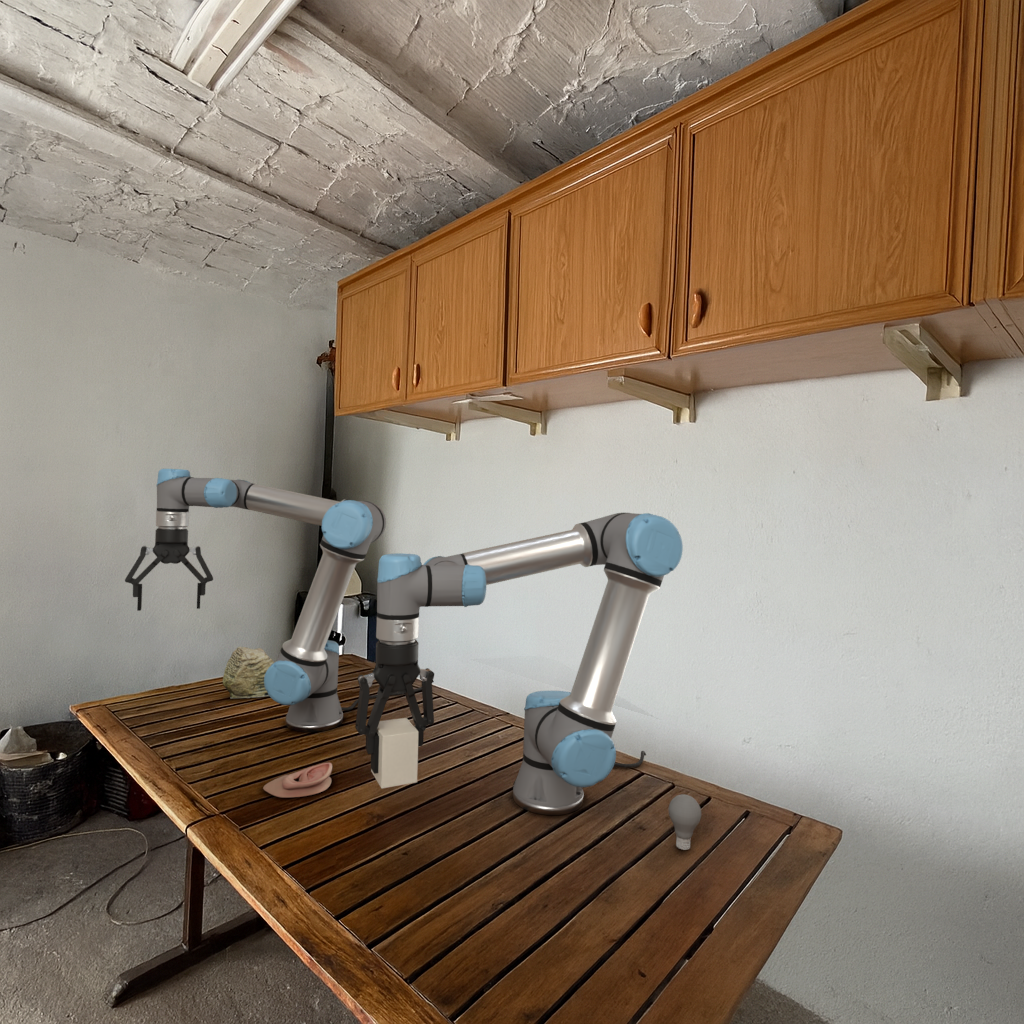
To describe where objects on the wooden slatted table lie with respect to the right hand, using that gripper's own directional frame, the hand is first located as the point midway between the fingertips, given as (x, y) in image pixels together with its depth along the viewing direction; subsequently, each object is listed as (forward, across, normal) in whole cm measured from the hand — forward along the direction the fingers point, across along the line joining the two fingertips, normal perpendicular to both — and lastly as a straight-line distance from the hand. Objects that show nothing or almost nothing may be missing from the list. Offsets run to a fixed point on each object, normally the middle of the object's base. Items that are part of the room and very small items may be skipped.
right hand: (394, 766), depth 114 cm
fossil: (+15, -16, +101) cm, 103 cm away
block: (+2, 0, 0) cm, 2 cm away
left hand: (-17, -39, +77) cm, 88 cm away
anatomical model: (+15, -12, +32) cm, 37 cm away
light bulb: (+16, +51, -19) cm, 57 cm away
